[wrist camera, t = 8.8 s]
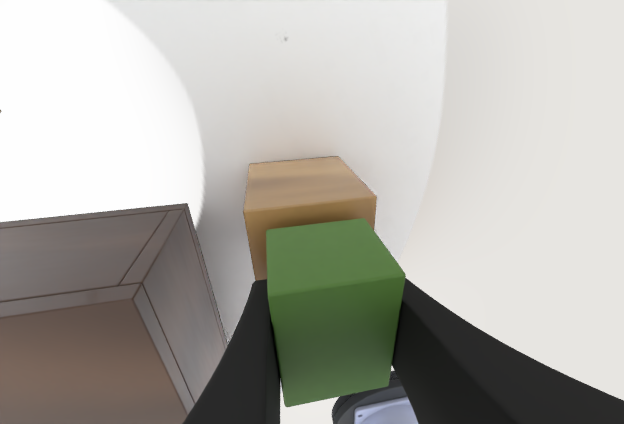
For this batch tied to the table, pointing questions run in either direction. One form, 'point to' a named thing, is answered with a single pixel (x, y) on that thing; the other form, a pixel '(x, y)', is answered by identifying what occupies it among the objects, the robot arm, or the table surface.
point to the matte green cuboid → (332, 308)
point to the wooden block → (301, 199)
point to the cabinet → (105, 318)
